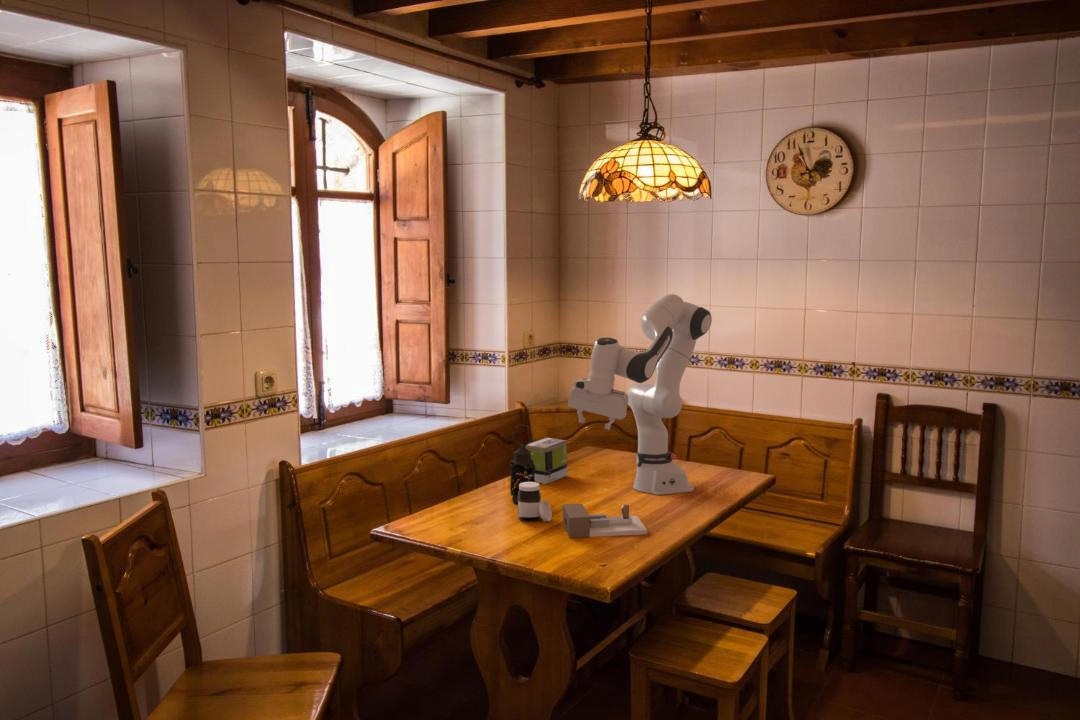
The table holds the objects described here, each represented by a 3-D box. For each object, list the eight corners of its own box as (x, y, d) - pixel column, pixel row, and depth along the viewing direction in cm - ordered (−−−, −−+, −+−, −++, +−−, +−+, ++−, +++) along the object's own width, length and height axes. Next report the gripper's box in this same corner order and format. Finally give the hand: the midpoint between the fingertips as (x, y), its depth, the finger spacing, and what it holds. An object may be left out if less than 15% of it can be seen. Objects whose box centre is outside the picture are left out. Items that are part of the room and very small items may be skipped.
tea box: (547, 472, 348) (547, 436, 346) (567, 476, 342) (567, 439, 340) (524, 481, 336) (524, 443, 334) (545, 485, 330) (545, 447, 328)
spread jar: (517, 513, 296) (517, 480, 295) (550, 512, 297) (550, 479, 295) (519, 525, 284) (518, 490, 283) (553, 524, 285) (553, 489, 284)
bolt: (630, 521, 283) (630, 504, 282) (632, 524, 280) (632, 506, 279) (600, 522, 281) (600, 505, 281) (601, 525, 279) (601, 507, 278)
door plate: (636, 520, 289) (637, 501, 288) (647, 534, 275) (647, 514, 274) (562, 523, 286) (562, 504, 285) (569, 537, 272) (569, 517, 271)
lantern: (505, 503, 308) (504, 426, 304) (514, 496, 316) (514, 421, 312) (531, 506, 304) (530, 428, 300) (540, 499, 313) (539, 423, 309)
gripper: (632, 391, 287) (626, 431, 290) (576, 378, 296) (571, 417, 298) (625, 394, 282) (619, 435, 284) (569, 381, 290) (563, 420, 293)
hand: (594, 426), depth 291 cm, fingers open, 8 cm apart
